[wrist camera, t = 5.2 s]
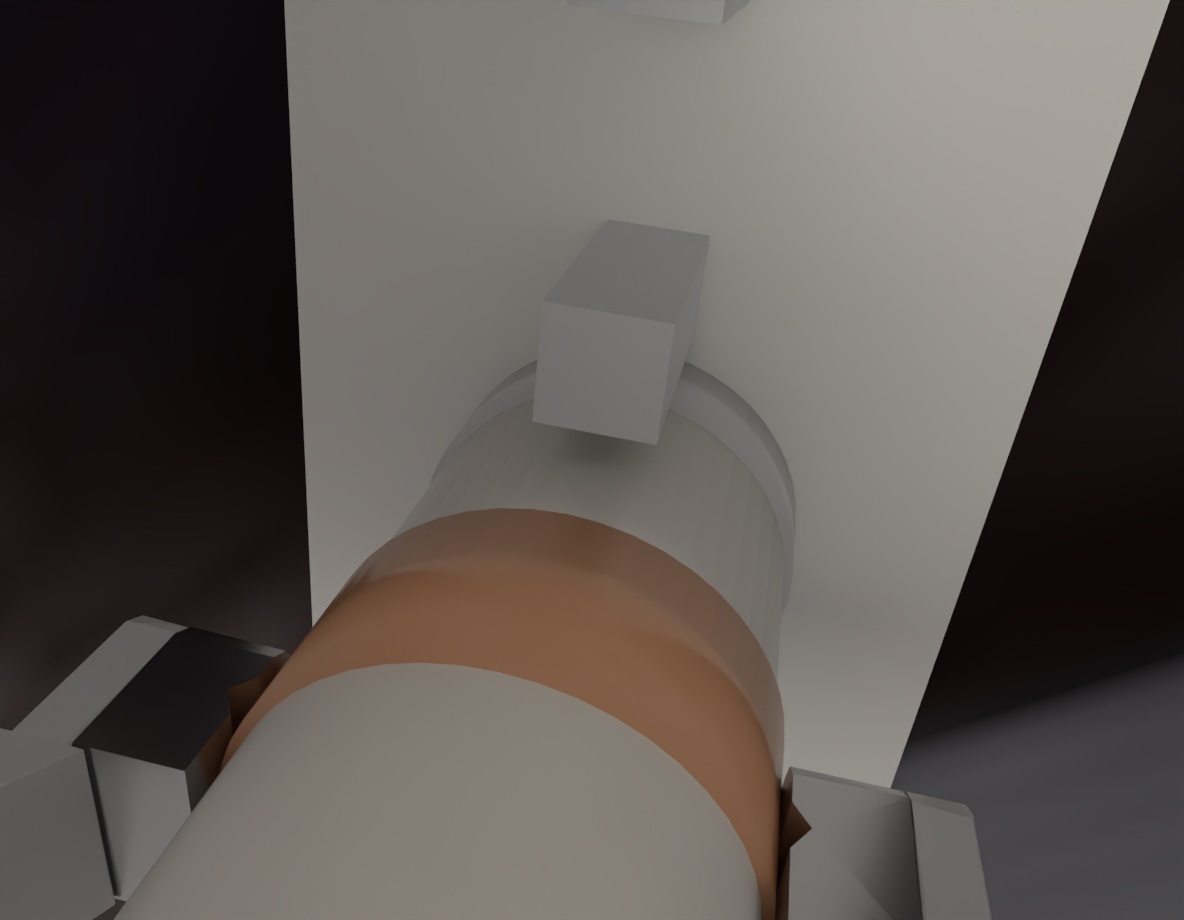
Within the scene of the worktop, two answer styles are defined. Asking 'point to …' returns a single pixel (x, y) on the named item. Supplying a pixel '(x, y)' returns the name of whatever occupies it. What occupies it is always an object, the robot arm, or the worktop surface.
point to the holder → (708, 269)
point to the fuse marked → (526, 694)
